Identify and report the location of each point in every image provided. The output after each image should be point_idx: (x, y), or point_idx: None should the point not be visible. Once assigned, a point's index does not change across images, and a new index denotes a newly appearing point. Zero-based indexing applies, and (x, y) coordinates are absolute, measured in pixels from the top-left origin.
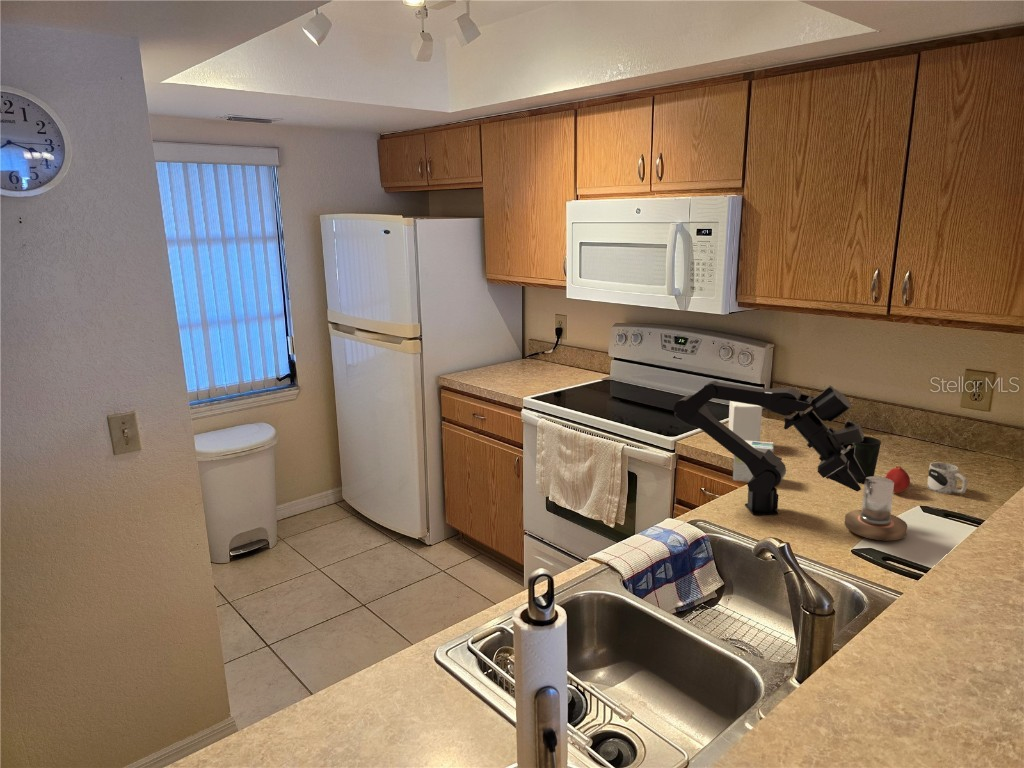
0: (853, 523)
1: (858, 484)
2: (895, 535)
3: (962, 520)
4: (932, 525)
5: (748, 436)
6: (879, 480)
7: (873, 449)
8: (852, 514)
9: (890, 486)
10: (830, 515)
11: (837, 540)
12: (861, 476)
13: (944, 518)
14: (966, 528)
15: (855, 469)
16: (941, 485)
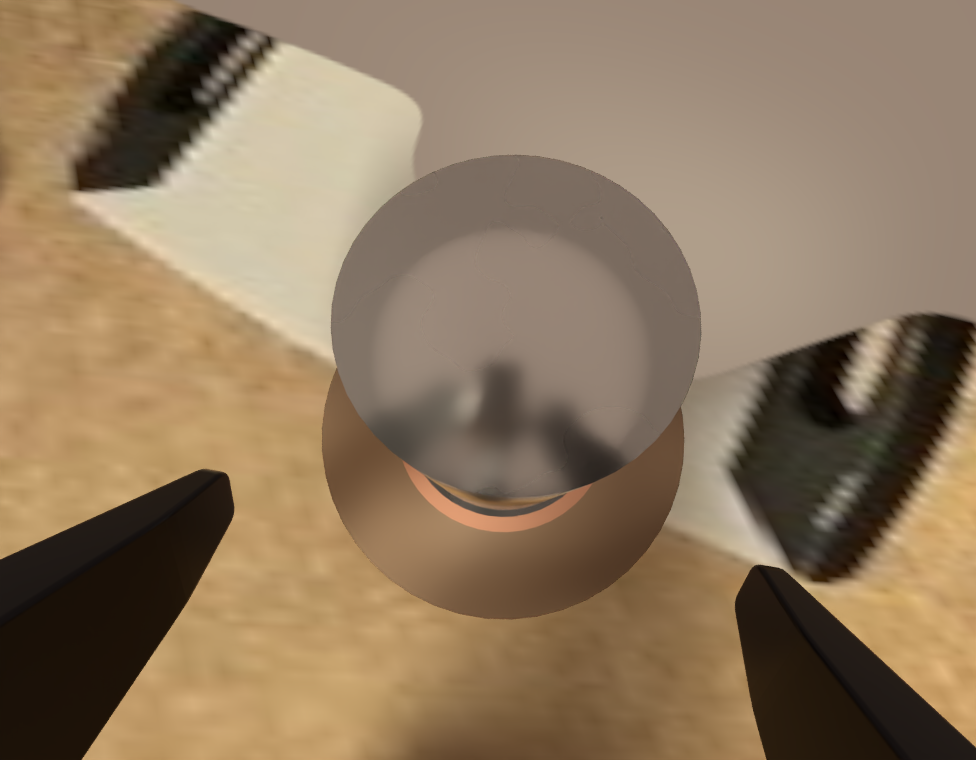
0: (601, 566)
1: (803, 617)
2: None
3: (231, 58)
4: (323, 170)
5: None
6: (491, 305)
7: None
8: (438, 563)
9: (632, 207)
10: (318, 687)
11: (711, 656)
12: (213, 518)
13: (223, 116)
14: (321, 58)
15: (107, 631)
16: None
